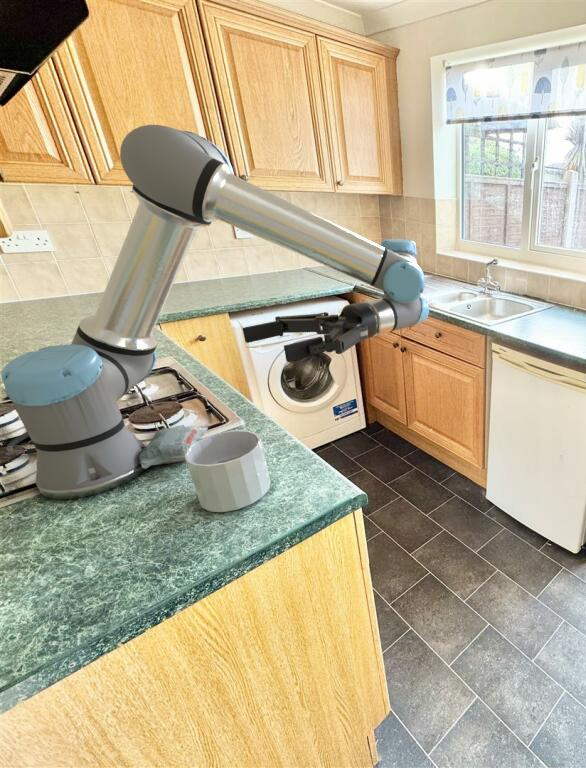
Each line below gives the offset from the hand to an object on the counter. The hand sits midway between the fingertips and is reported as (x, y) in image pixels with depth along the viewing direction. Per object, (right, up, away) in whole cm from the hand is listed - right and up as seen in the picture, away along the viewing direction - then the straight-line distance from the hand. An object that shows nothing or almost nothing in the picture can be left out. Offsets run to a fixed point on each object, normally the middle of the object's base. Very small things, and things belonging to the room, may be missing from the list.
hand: (264, 344), depth 72 cm
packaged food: (-25, -21, +13) cm, 35 cm away
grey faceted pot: (-7, -27, +3) cm, 28 cm away
